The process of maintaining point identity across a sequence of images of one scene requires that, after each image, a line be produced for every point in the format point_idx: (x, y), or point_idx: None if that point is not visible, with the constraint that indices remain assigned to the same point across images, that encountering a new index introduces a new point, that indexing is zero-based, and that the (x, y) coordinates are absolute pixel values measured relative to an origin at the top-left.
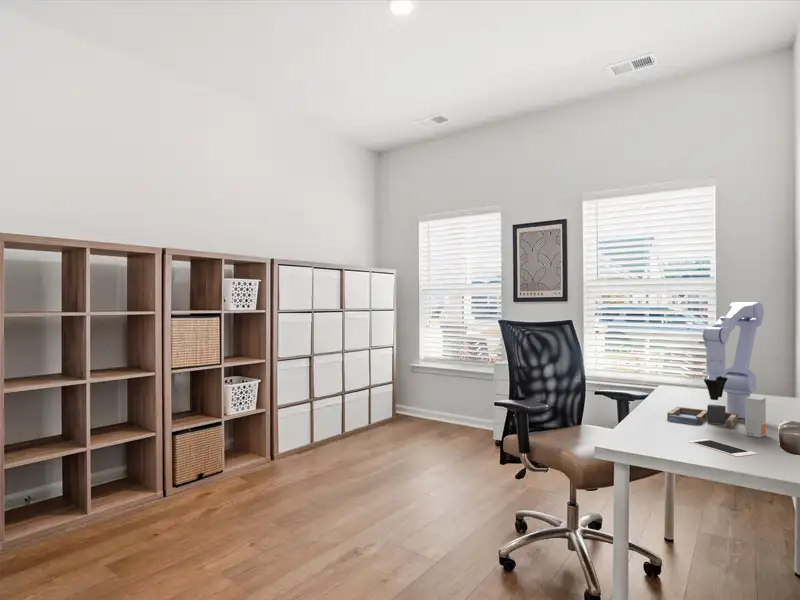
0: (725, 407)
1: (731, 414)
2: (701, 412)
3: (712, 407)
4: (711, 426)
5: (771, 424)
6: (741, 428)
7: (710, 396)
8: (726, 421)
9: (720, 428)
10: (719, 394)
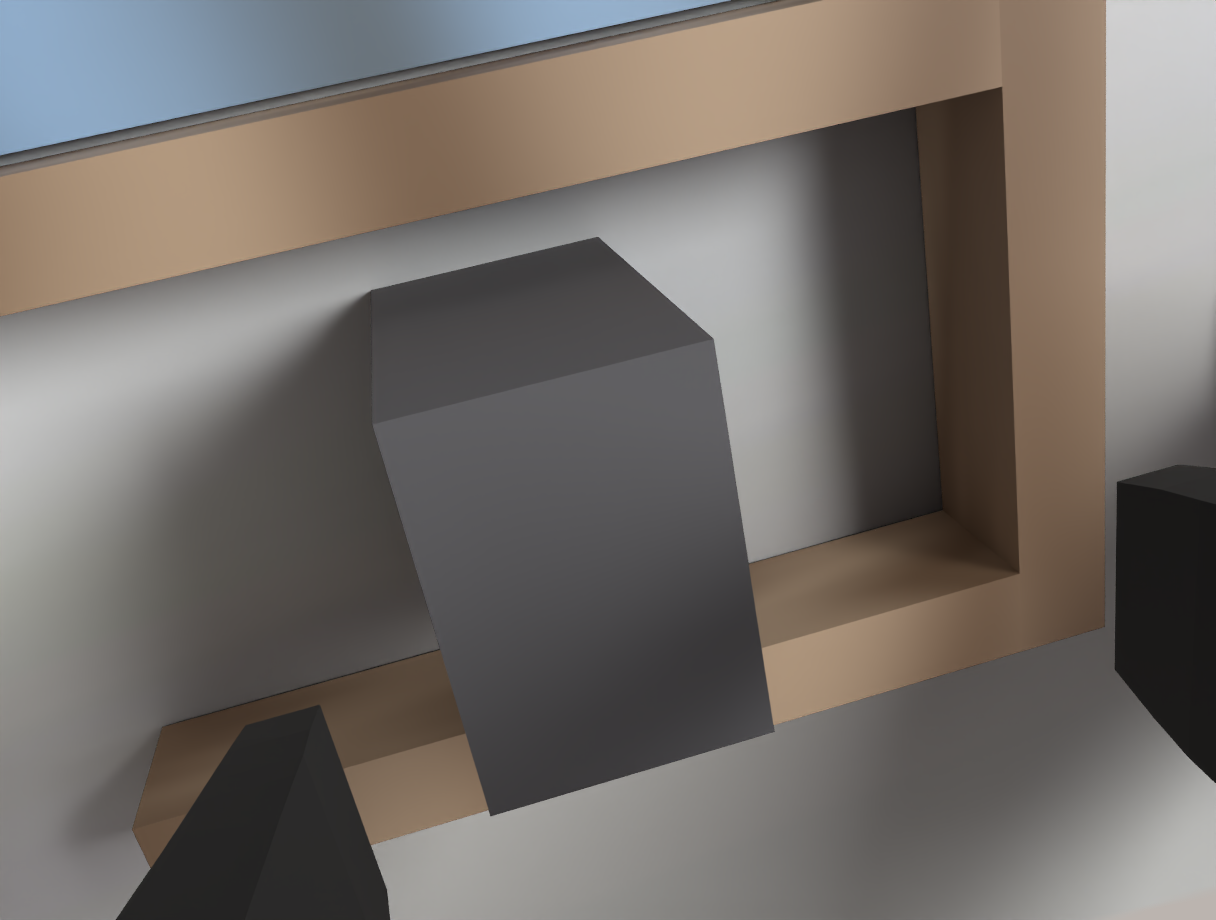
0: (736, 718)
1: (1007, 555)
2: (647, 52)
3: (409, 545)
4: (12, 521)
5: (1071, 914)
6: (384, 860)
7: (193, 824)
8: (138, 823)
9: (2, 696)
10: (1187, 683)
